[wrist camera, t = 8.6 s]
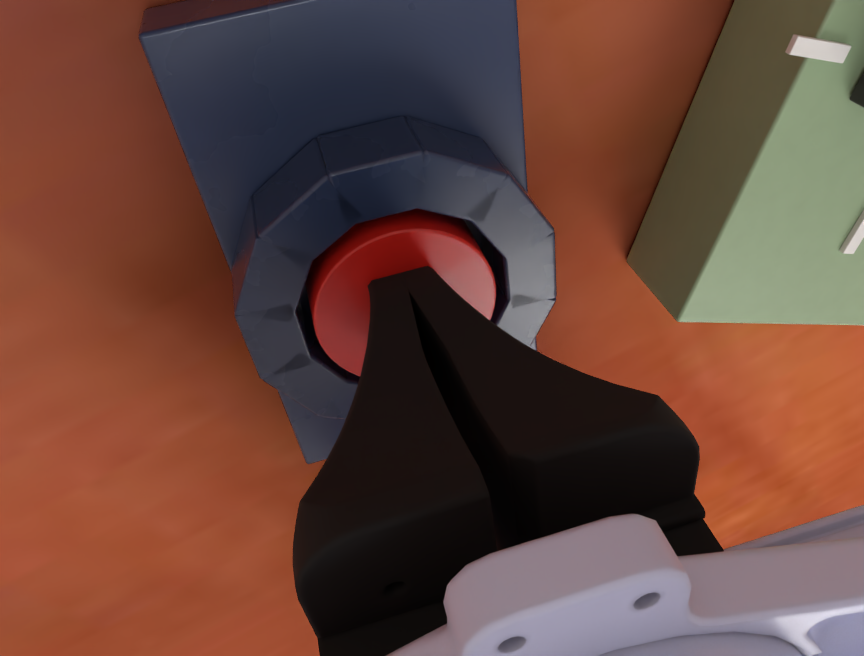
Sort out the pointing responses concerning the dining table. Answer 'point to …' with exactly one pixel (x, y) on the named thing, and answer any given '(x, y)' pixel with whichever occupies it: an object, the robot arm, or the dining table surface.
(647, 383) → the dining table surface
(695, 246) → the green toggle switch panel
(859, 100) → the grey box red tab
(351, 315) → the button
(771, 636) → the robot arm
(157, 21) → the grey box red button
